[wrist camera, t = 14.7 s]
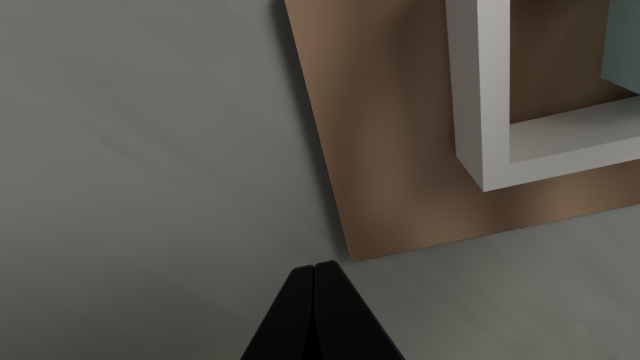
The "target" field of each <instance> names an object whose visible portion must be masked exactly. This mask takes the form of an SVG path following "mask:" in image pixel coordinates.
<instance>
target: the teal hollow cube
mask: <svg viewBox="0 0 640 360" xmlns="http://www.w3.org/2000/svg"><path fill="white" fill-rule="evenodd" d="M601 78H602V79H604V80H607V81H609V82H611V83H614V84H616V85H619V86H621V87H623V88H626V89H628V90H631V91H633V92H635V93H638V94H640V0H610V3H609V12H608V20H607V28H606V37H605V45H604V54H603V62H602V70H601Z"/></svg>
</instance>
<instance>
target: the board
mask: <svg viewBox="0 0 640 360" xmlns="http://www.w3.org/2000/svg"><path fill="white" fill-rule="evenodd" d="M609 3H610V0H510V98H509V125H510V124H514V123H519V122H523V121H528V120H532V119H537V118H541V117H545V116H550V115H554V114H559V113H563V112H568V111H572V110H577V109H581V108H585V107H590V106H594V105H599V104H603V103H608V102H612V101H616V100H621V99H625V98H630V97H634V96H639V95H640V94H638V93H635V92H633V91H631V90H628V89H626V88H623V87H621V86H619V85H616V84H614V83H611V82H609V81H607V80H604V79H602V78H601V70H602V62H603V54H604V45H605V37H606V28H607V20H608V12H609ZM285 4H286V8H287V12H288V16H289V20H290V24H291V28H292V32H293V36H294V40H295V44H296V48H297V51H298V55H299V59H300V63H301V67H302V71H303V75H304V79H305V83H306V87H307V91H308V95H309V99H310V103H311V107H312V111H313V115H314V119H315V122H316V126H317V130H318V134H319V138H320V142H321V146H322V150H323V154H324V158H325V162H326V166H327V170H328V174H329V178H330V182H331V186H332V190H333V193H334V197H335V201H336V205H337V209H338V213H339V217H340V221H341V225H342V229H343V233H344V237H345V241H346V245H347V249H348V253H349V257H350V261H351V263H352V262H357V261H362V260H367V259H372V258H377V257H382V256H386V255H391V254H396V253H401V252H406V251H411V250H416V249H420V248H425V247H430V246H435V245H440V244H445V243H450V242H455V241H459V240H464V239H469V238H474V237H479V236H484V235H489V234H493V233H498V232H503V231H508V230H513V229H518V228H523V227H528V226H532V225H537V224H542V223H547V222H552V221H557V220H562V219H566V218H571V217H576V216H581V215H586V214H591V213H596V212H601V211H605V210H610V209H615V208H620V207H625V206H630V205H635V204H639V203H640V159H636V160H631V161H626V162H622V163H617V164H612V165H608V166H603V167H598V168H594V169H589V170H584V171H580V172H575V173H570V174H566V175H561V176H556V177H552V178H547V179H542V180H537V181H533V182H528V183H523V184H519V185H514V186H509V187H505V188H500V189H495V190H491V191H486V192H483V191H482V189H481V188H480V187H479V185H478V184H477V183H476V181H475V180H474V179H473V178H472V176H471V175H470V174H469V172H468V171H467V170H466V168H465V167H464V166H463V164H462V163H461V162H460V160H459V159H458V158H457V157H456V145H455V131H454V116H453V102H452V88H451V73H450V59H449V45H448V30H447V16H446V2H445V0H285Z"/></svg>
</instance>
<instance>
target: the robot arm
mask: <svg viewBox="0 0 640 360" xmlns="http://www.w3.org/2000/svg"><path fill="white" fill-rule="evenodd" d="M240 360H405V358H404V357H403V355H402V354H401V353H400V351H399V350H398V348H397V347H396V346H395V344H394V343H393V341H392V340H391V338H390V337H389V336H388V334H387V333H386V331H385V330H384V328H383V327H382V326H381V324H380V323H379V321H378V320H377V318H376V317H375V316H374V314H373V313H372V311H371V310H370V308H369V307H368V306H367V304H366V303H365V301H364V300H363V298H362V297H361V296H360V294H359V293H358V291H357V290H356V288H355V287H354V286H353V284H352V283H351V281H350V280H349V278H348V277H347V276H346V274H345V273H344V271H343V270H342V269H341V267H340V266H339V264H338V263H337V262H336V261H334V260H331V261H326V262H321V263H317V264H316V265H315V267H314V266H313V265H307V266H302V267H297V268H294V269H293V270H292V271H291V272H290V274H289V276H288V278H287V279H286V281H285V283H284V285H283V286H282V288H281V290H280V291H279V293H278V295H277V297H276V298H275V300H274V302H273V304H272V305H271V307H270V309H269V310H268V312H267V314H266V316H265V317H264V319H263V321H262V323H261V324H260V326H259V328H258V329H257V331H256V333H255V335H254V336H253V338H252V340H251V342H250V343H249V345H248V347H247V348H246V350H245V352H244V354H243V355H242V357H241V359H240Z"/></svg>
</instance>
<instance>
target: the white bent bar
mask: <svg viewBox="0 0 640 360" xmlns="http://www.w3.org/2000/svg"><path fill="white" fill-rule="evenodd" d="M445 2H446V16H447V30H448V45H449V59H450V73H451V88H452V102H453V116H454V131H455V145H456V157H457V158H458V159H459V160H460V162H461V163H462V164H463V166H464V167H465V168H466V170H467V171H468V172H469V174H470V175H471V176H472V178H473V179H474V180H475V181H476V183H477V184H478V185H479V187H480V188H481V189H482V191H483V192H486V191H491V190H495V189H500V188H505V187H509V186H514V185H519V184H523V183H528V182H533V181H537V180H542V179H547V178H552V177H556V176H561V175H566V174H570V173H575V172H580V171H584V170H589V169H594V168H598V167H603V166H608V165H612V164H617V163H622V162H626V161H631V160H636V159H640V95H639V96H634V97H630V98H625V99H621V100H616V101H612V102H608V103H603V104H599V105H594V106H590V107H585V108H581V109H577V110H572V111H568V112H563V113H559V114H554V115H550V116H545V117H541V118H537V119H532V120H528V121H523V122H519V123H514V124H510V125H509V98H510V0H445Z"/></svg>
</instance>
